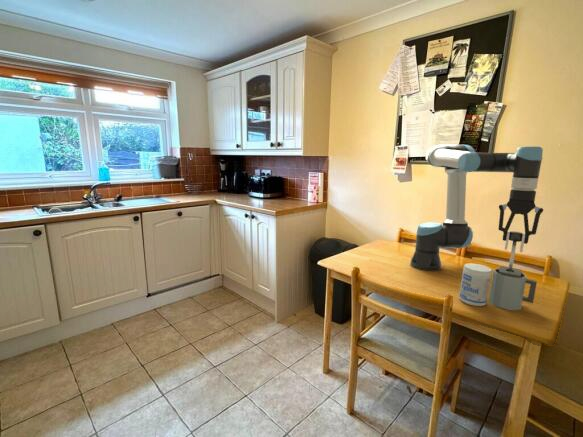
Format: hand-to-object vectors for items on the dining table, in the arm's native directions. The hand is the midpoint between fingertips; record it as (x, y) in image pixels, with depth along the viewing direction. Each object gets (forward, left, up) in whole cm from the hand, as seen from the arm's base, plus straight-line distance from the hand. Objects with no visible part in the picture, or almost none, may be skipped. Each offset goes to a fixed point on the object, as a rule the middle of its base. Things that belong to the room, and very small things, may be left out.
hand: (513, 250), depth 114 cm
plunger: (0, 0, -14) cm, 14 cm away
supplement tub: (-10, -6, -23) cm, 26 cm away
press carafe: (+2, 0, -22) cm, 22 cm away
